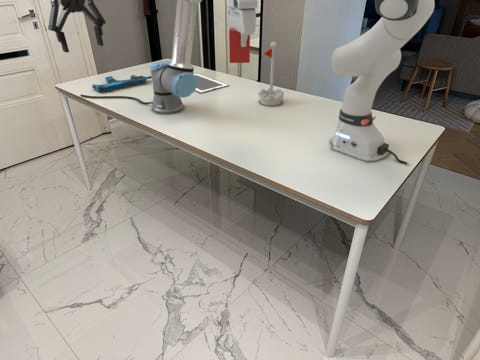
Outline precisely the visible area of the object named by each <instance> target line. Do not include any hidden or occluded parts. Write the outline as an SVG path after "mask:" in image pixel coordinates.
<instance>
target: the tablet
mask: <svg viewBox="0 0 480 360" xmlns="http://www.w3.org/2000/svg"><path fill="white" fill-rule="evenodd" d="M193 75H194V76H195V78H196V80H197V86H196V89H195V91H194V92H198V93H200V94H203V93H206V92H211V91H215V90H217V89H222V88H225V87H229V84H226V83H224V82H221V81H219V80H216V79H214V78H210V77H207V76H206V75H202V74H199V73H193Z"/></svg>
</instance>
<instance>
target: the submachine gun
mask: <svg viewBox="0 0 480 360" xmlns="http://www.w3.org/2000/svg"><path fill="white" fill-rule="evenodd" d="M150 79H152V76H151V75H148V76H145V75H135V74H132V75H131V76H130V78H128V79H123V80H117V79H115V78H114V77H113V76H111V75H110V76H106V77H105V81H107V82H106V83H102V84H91V87H92V89H93V90H95V91H96V92H98V93H99V92H100V93H101V92H104V91H106V92H108V91H109V92H112V90H115V89H119V88H124V87H128V86H133V85H138V84H144V83H145V82H147V80H150Z"/></svg>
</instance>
